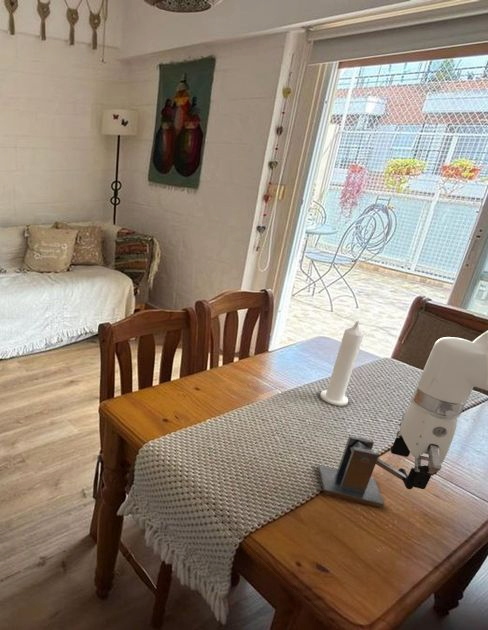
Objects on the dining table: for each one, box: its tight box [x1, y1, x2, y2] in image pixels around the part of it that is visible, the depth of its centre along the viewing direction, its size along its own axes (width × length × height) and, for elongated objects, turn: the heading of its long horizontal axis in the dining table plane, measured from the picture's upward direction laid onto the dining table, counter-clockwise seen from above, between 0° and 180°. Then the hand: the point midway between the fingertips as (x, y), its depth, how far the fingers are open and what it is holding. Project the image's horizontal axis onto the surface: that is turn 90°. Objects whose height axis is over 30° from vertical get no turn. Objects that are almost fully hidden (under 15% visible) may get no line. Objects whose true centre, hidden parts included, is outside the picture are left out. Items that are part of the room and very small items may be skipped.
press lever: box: [350, 441, 414, 490], centre depth 92 cm, size 12×5×2 cm, turn 71°
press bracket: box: [317, 435, 385, 509], centre depth 94 cm, size 11×8×12 cm
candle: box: [319, 320, 365, 407], centre depth 123 cm, size 7×7×25 cm
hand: (406, 469), depth 90 cm, fingers open, 9 cm apart
